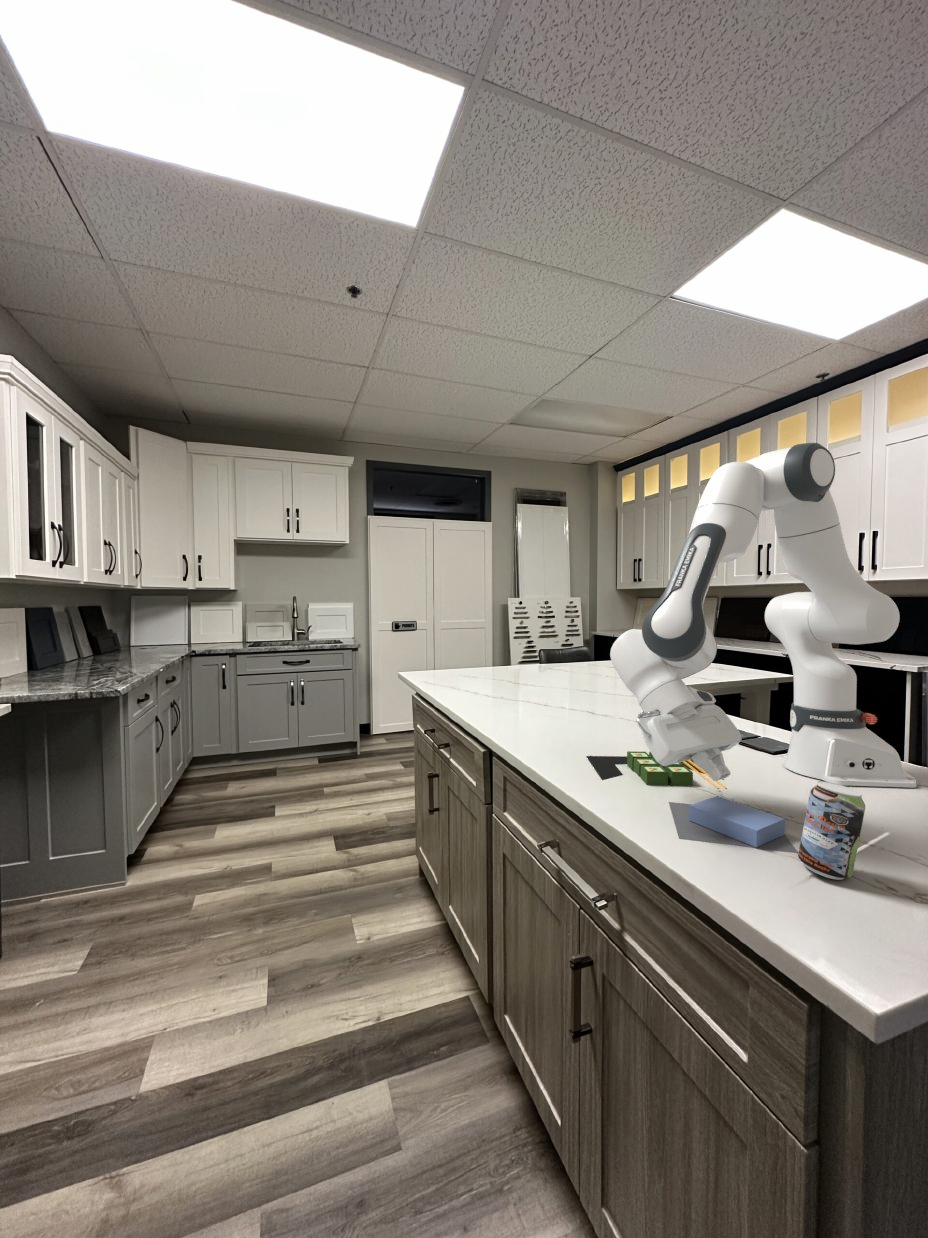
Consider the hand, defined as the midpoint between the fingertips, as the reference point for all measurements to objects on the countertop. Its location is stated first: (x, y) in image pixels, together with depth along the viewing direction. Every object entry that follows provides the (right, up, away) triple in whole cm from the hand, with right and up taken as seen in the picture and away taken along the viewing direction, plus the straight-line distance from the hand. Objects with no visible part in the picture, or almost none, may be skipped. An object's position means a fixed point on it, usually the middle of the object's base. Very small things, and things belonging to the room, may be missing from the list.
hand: (723, 778), depth 83 cm
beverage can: (+7, -9, -14) cm, 18 cm away
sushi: (-1, -8, +25) cm, 26 cm away
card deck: (-2, -6, +3) cm, 7 cm away
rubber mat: (0, -8, 0) cm, 8 cm away
